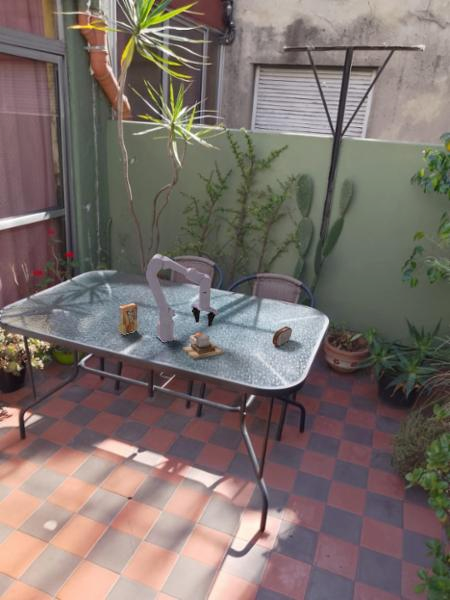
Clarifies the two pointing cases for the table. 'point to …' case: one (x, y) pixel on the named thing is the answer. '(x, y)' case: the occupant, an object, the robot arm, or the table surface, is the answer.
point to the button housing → (192, 339)
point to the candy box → (128, 318)
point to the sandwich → (282, 336)
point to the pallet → (202, 351)
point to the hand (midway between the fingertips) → (203, 324)
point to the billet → (202, 341)
